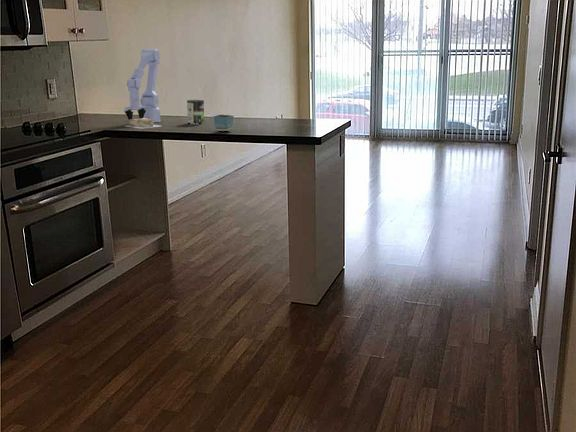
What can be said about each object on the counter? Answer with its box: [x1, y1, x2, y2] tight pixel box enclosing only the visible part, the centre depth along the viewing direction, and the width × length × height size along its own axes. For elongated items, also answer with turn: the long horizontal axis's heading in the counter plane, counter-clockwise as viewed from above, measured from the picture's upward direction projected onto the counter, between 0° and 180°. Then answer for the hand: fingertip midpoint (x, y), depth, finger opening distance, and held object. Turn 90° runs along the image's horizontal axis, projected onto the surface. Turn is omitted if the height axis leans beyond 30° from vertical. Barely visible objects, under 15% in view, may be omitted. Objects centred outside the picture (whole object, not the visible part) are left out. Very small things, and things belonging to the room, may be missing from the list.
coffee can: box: [186, 99, 205, 124], centre depth 370 cm, size 10×10×14 cm
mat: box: [125, 124, 161, 130], centre depth 357 cm, size 16×16×1 cm
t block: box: [128, 117, 154, 128], centre depth 355 cm, size 12×12×4 cm
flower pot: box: [213, 114, 234, 129], centre depth 338 cm, size 9×9×9 cm
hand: (135, 122), depth 360 cm, fingers open, 7 cm apart
